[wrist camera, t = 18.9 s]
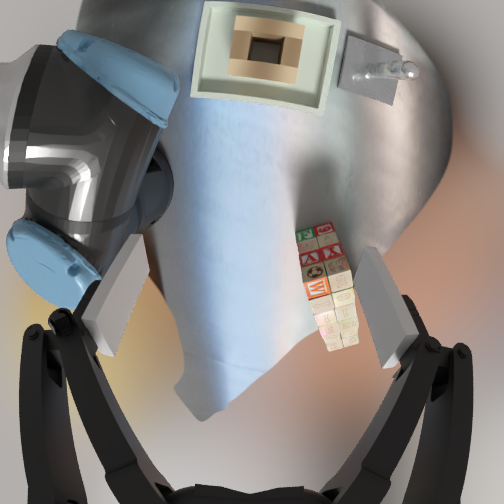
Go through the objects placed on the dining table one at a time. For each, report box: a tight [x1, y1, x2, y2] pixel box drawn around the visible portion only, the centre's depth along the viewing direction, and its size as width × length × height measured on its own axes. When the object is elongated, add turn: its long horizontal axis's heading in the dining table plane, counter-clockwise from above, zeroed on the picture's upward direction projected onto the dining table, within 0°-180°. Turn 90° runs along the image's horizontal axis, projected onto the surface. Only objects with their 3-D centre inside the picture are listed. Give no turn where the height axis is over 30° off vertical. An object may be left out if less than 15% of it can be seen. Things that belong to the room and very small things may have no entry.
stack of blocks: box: [295, 222, 359, 351], centre depth 43 cm, size 21×6×12 cm, turn 21°
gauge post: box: [337, 35, 419, 105], centre depth 23 cm, size 8×8×12 cm
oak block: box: [227, 16, 305, 84], centre depth 24 cm, size 7×7×7 cm
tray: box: [190, 1, 341, 116], centre depth 27 cm, size 17×14×2 cm
